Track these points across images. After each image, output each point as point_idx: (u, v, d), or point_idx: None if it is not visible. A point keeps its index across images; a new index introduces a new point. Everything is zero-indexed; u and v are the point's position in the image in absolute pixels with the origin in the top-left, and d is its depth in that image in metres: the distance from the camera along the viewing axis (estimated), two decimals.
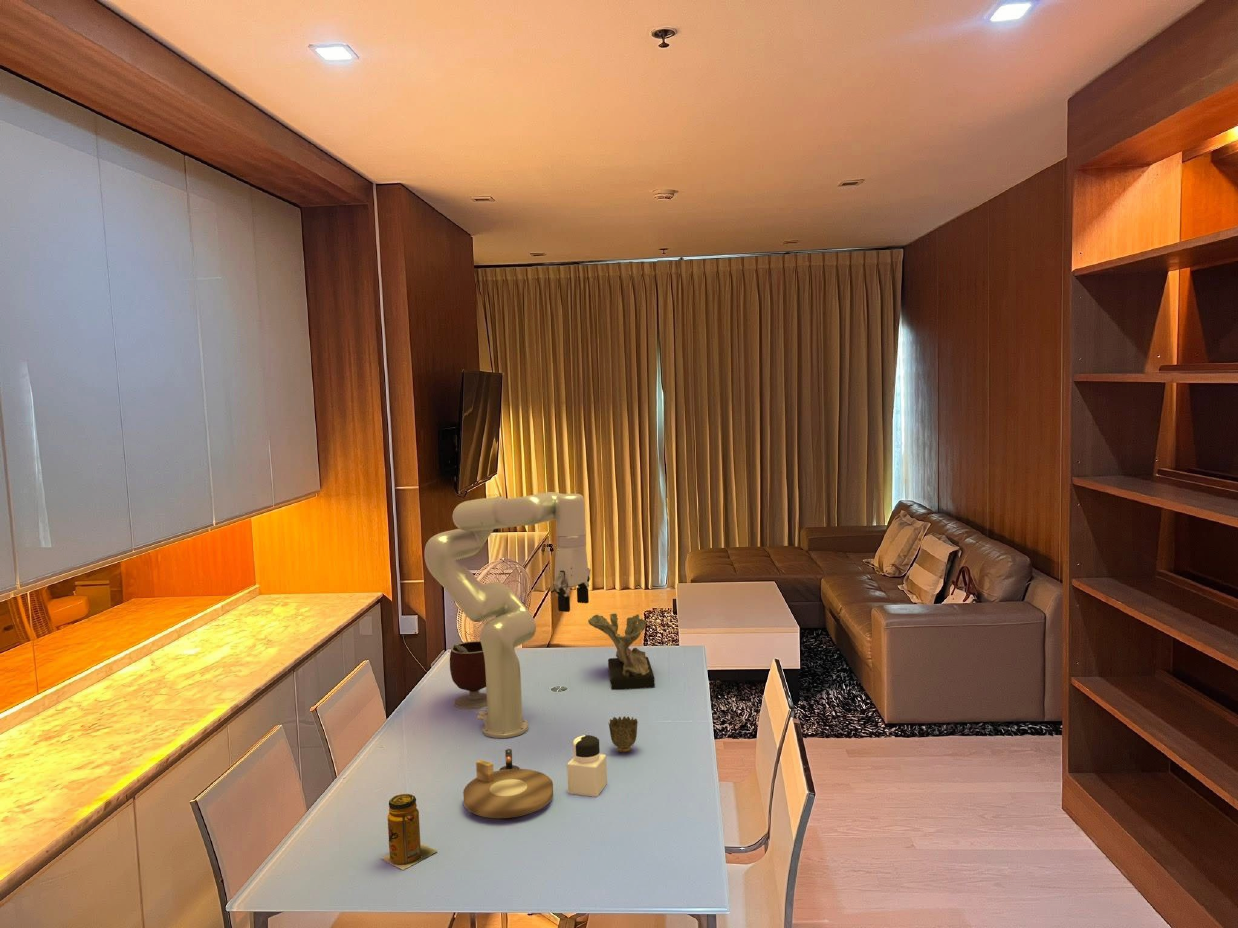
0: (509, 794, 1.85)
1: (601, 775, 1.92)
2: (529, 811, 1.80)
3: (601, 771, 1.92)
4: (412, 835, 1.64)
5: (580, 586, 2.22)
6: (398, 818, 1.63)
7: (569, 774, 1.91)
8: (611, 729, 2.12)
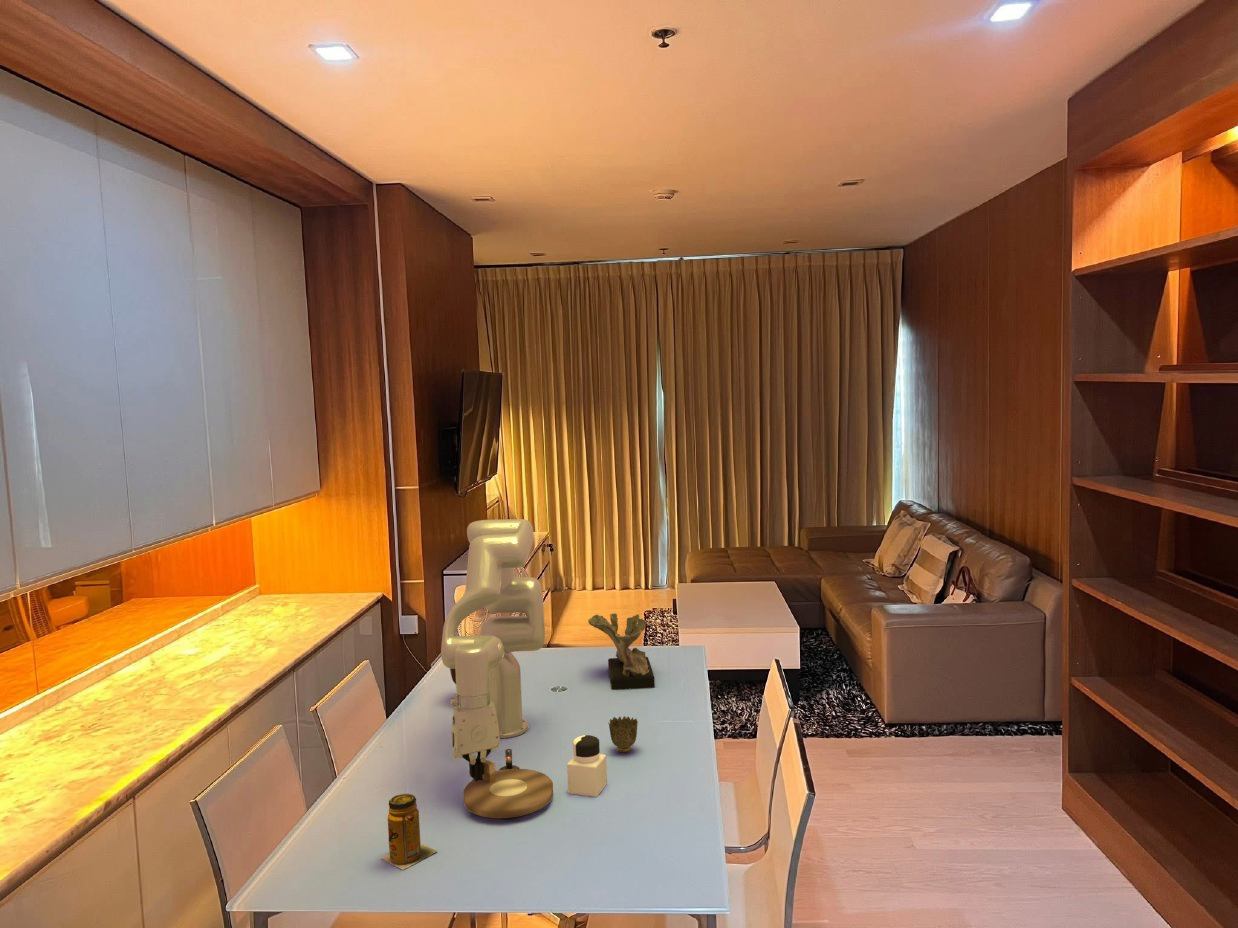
0: (508, 794, 1.85)
1: (601, 775, 1.92)
2: (526, 812, 1.80)
3: (601, 771, 1.92)
4: (412, 834, 1.64)
5: (475, 760, 1.90)
6: (398, 818, 1.63)
7: (569, 774, 1.91)
8: (611, 729, 2.12)
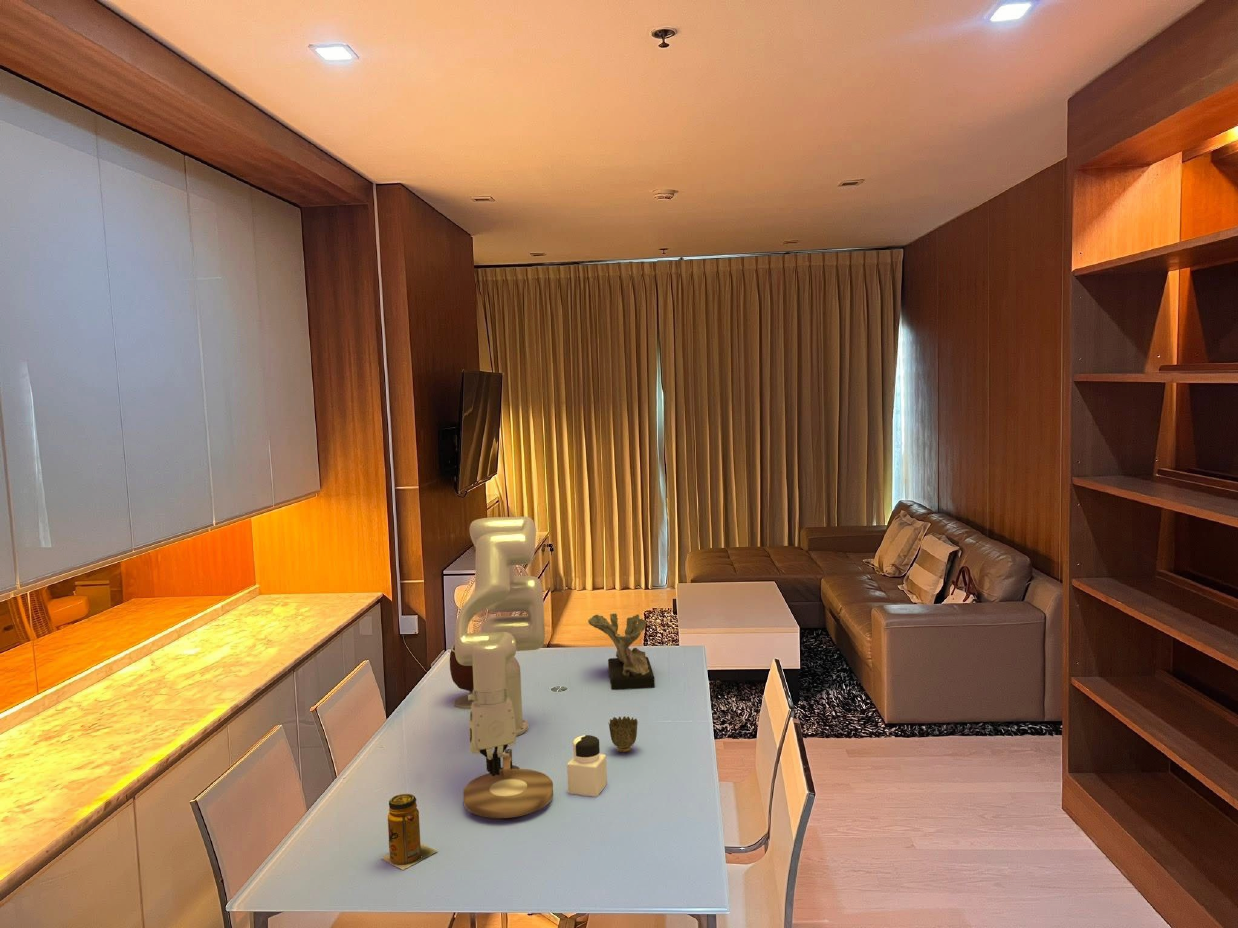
0: (497, 794, 1.85)
1: (601, 775, 1.92)
2: (496, 816, 1.79)
3: (601, 771, 1.92)
4: (412, 835, 1.64)
5: None
6: (398, 818, 1.63)
7: (569, 774, 1.91)
8: (611, 729, 2.12)
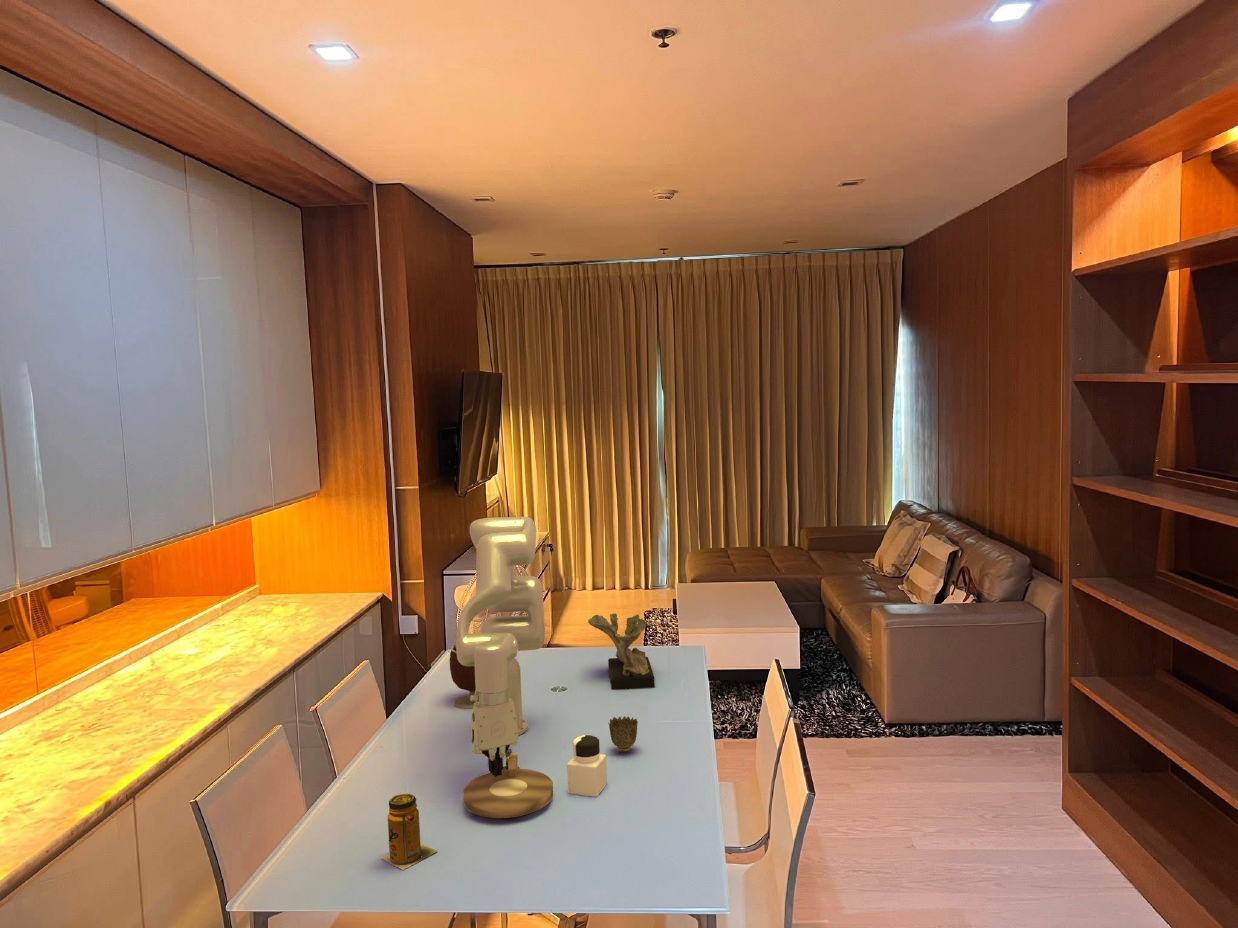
0: (495, 793, 1.86)
1: (601, 775, 1.92)
2: (487, 815, 1.79)
3: (601, 771, 1.92)
4: (412, 835, 1.64)
5: None
6: (398, 818, 1.63)
7: (569, 774, 1.91)
8: (611, 729, 2.12)
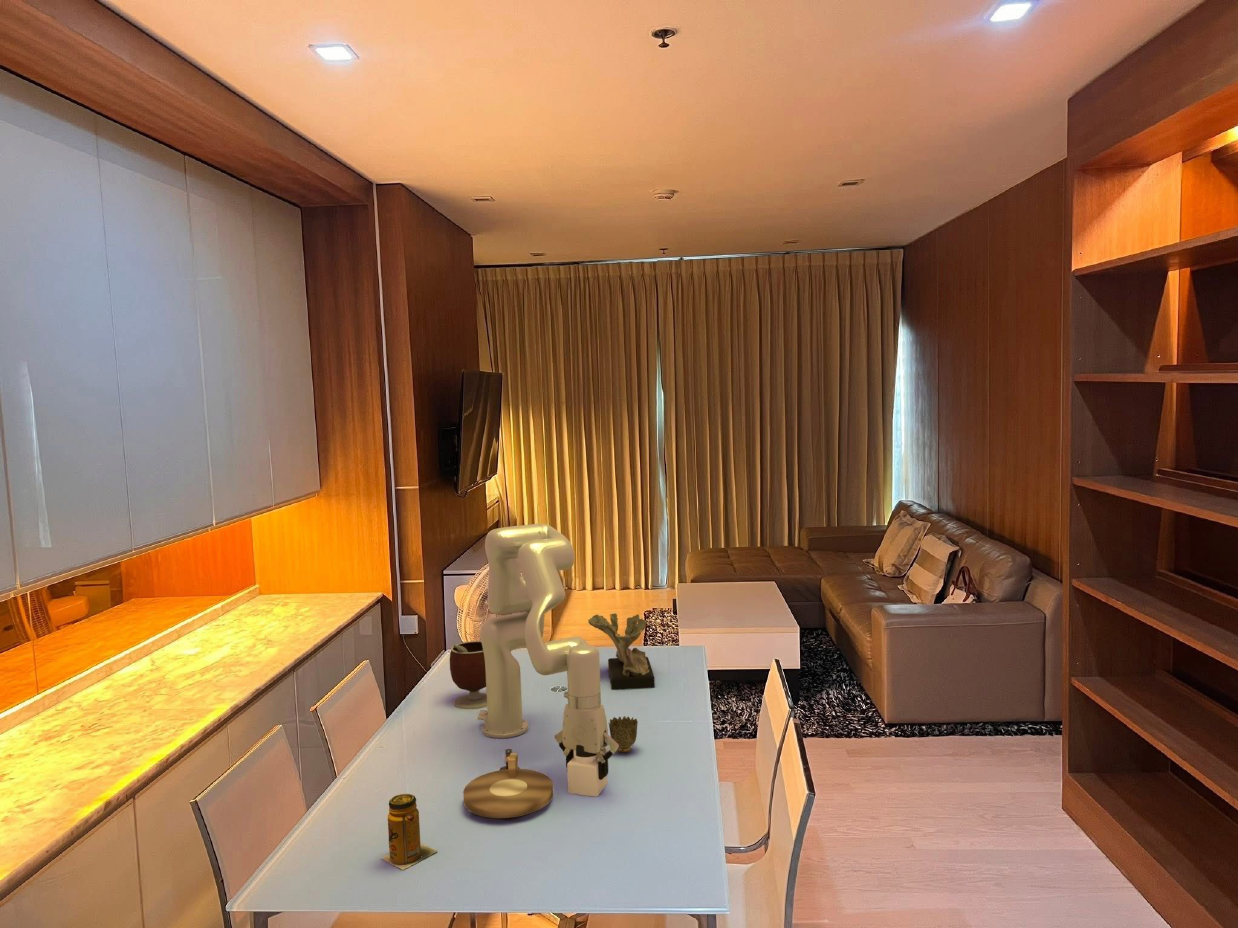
0: (495, 793, 1.86)
1: None
2: (487, 815, 1.79)
3: None
4: (412, 835, 1.64)
5: (570, 753, 1.95)
6: (398, 818, 1.63)
7: (569, 774, 1.91)
8: (611, 729, 2.12)
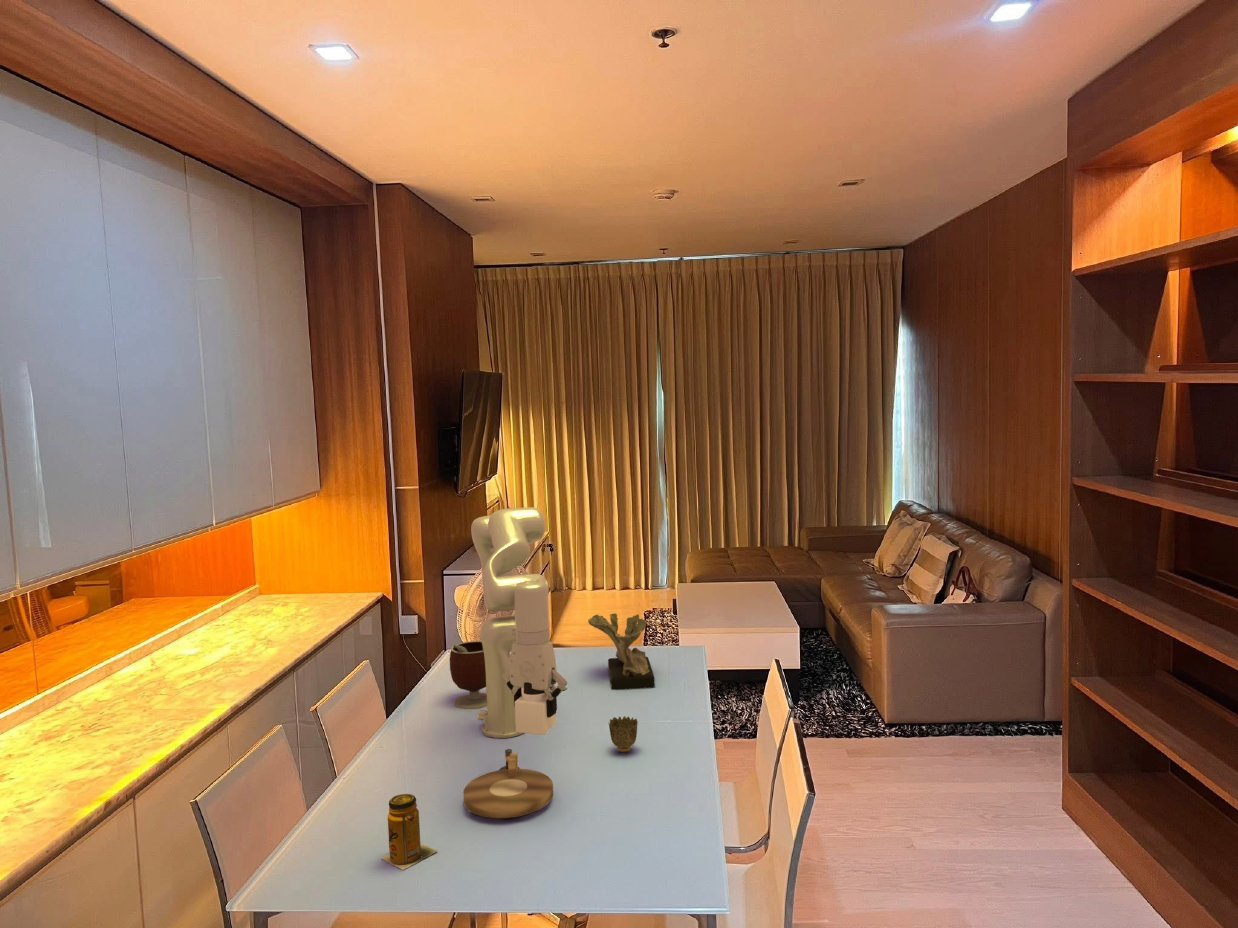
0: (495, 793, 1.86)
1: None
2: (487, 815, 1.79)
3: None
4: (412, 835, 1.64)
5: (518, 692, 1.91)
6: (398, 818, 1.63)
7: (517, 712, 1.87)
8: (611, 729, 2.12)
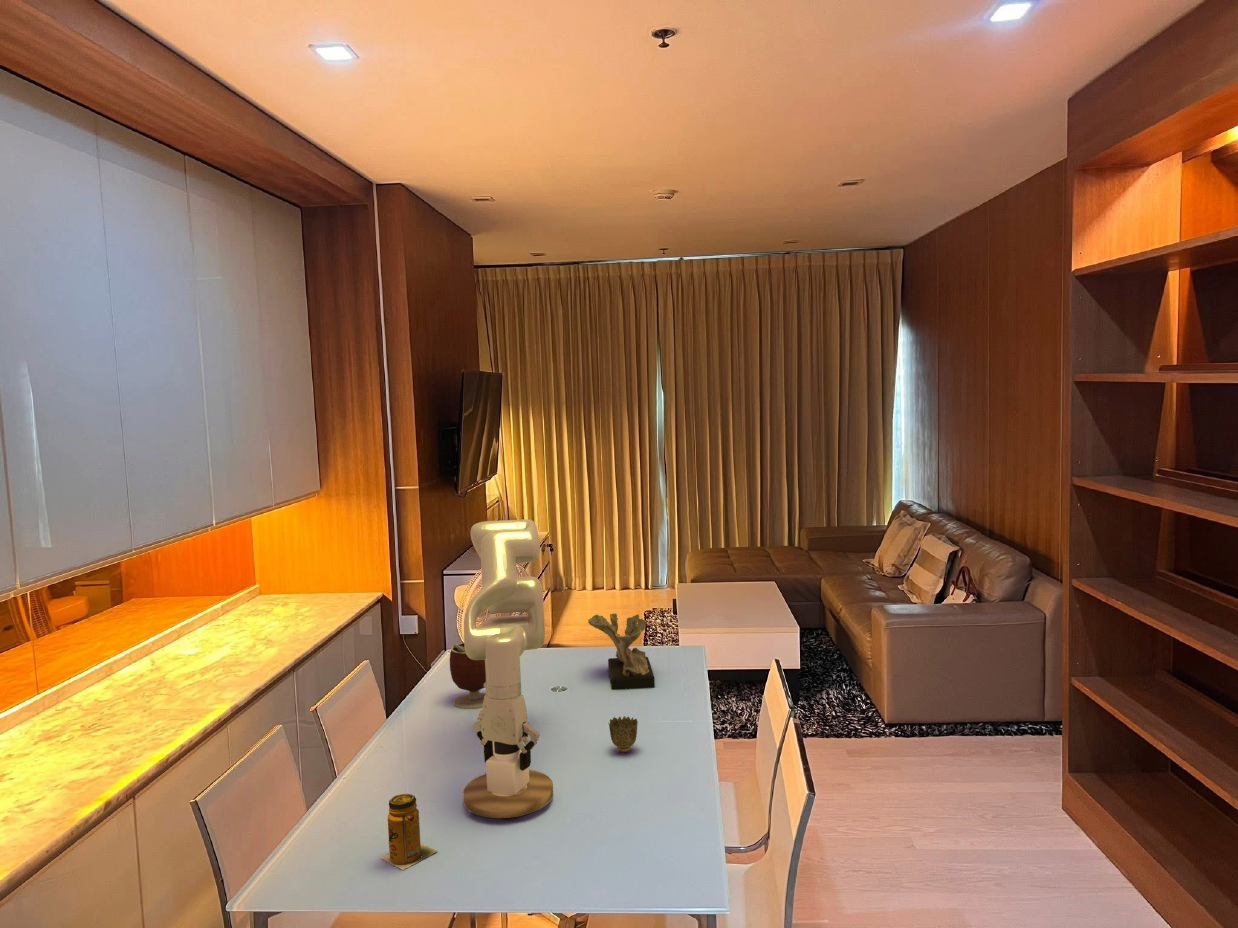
0: (495, 793, 1.86)
1: (521, 773, 1.87)
2: (487, 815, 1.79)
3: None
4: (412, 835, 1.64)
5: (488, 742, 1.90)
6: (398, 818, 1.63)
7: (488, 772, 1.86)
8: (611, 729, 2.12)
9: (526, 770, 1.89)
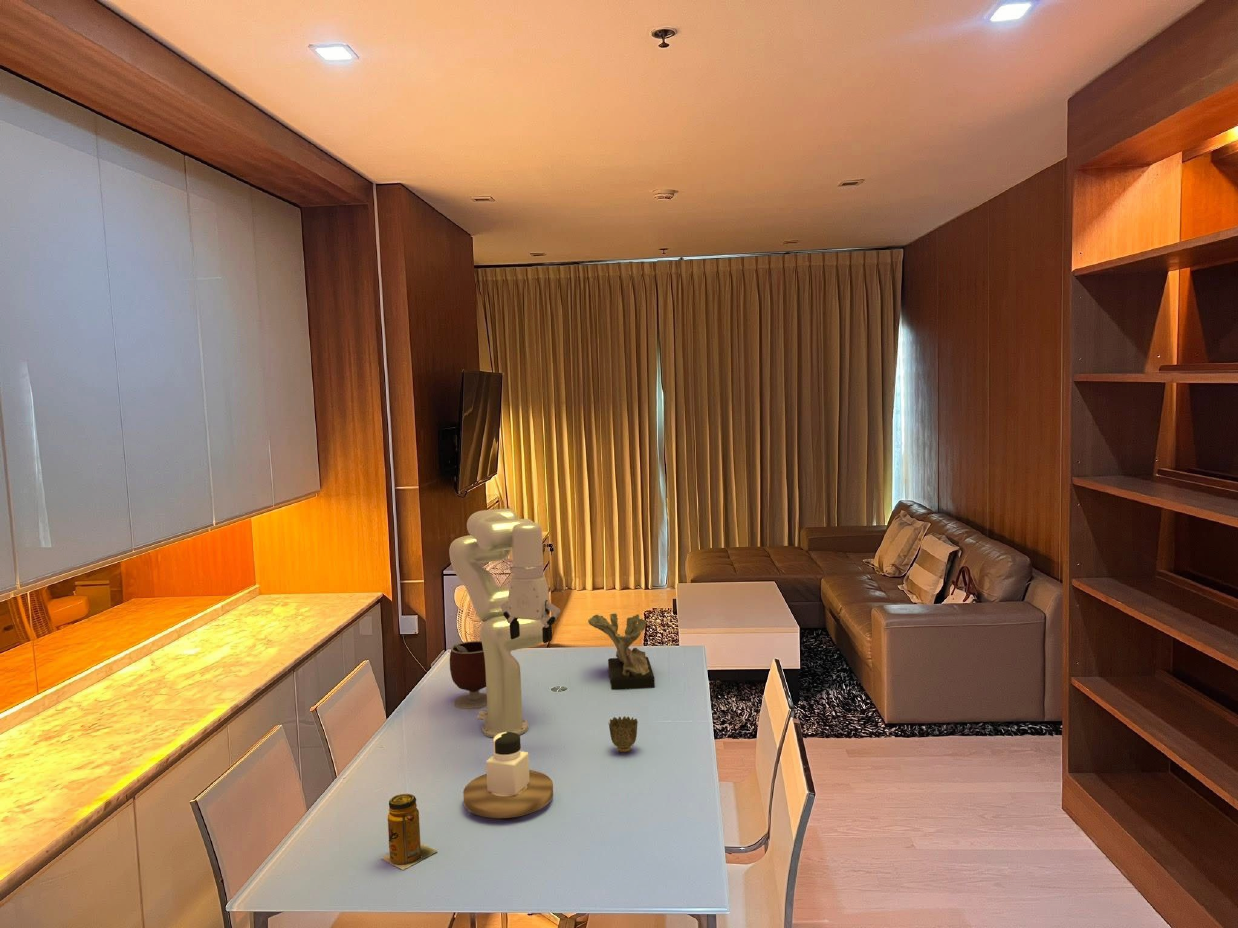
0: (495, 793, 1.86)
1: (521, 774, 1.87)
2: (487, 815, 1.79)
3: (521, 769, 1.87)
4: (412, 835, 1.64)
5: (514, 621, 2.12)
6: (398, 818, 1.63)
7: (488, 772, 1.86)
8: (611, 729, 2.12)
9: (526, 770, 1.89)
